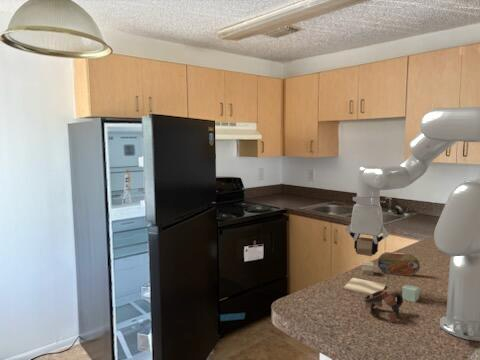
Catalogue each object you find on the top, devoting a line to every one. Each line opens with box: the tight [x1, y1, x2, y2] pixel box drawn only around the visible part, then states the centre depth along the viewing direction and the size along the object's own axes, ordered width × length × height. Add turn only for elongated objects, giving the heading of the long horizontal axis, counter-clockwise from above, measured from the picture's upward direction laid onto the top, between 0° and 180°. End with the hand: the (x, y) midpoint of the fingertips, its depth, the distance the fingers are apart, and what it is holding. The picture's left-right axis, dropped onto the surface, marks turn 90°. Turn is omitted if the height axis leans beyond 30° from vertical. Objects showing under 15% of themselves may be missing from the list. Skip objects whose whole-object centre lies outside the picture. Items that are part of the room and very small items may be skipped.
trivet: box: [342, 277, 387, 297], centre depth 130 cm, size 12×12×1 cm
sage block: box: [401, 283, 420, 303], centre depth 121 cm, size 4×4×4 cm
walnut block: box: [356, 236, 374, 257], centre depth 129 cm, size 5×5×5 cm
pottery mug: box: [363, 289, 404, 323], centre depth 111 cm, size 12×10×8 cm
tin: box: [377, 251, 420, 277], centre depth 144 cm, size 15×3×8 cm, turn 73°
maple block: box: [362, 261, 375, 276], centre depth 145 cm, size 4×4×4 cm
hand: (365, 251), depth 129 cm, fingers closed on walnut block, 5 cm apart
